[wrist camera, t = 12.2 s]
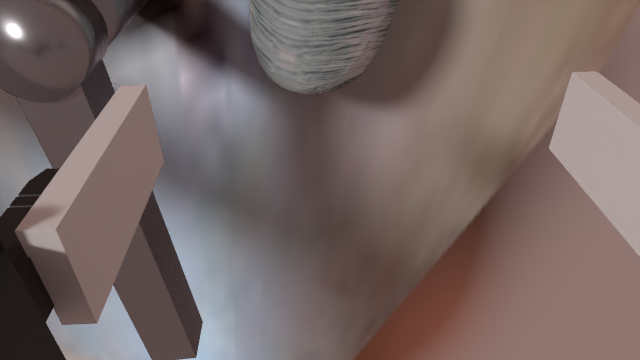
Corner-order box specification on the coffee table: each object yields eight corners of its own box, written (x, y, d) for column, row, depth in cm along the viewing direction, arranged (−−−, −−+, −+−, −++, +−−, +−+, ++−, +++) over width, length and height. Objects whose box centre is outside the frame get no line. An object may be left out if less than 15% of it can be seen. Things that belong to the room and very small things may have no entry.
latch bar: (-8, -15, 22) (-54, 7, 19) (88, -26, 21) (57, -6, 19) (154, 324, 36) (142, 366, 33) (212, 318, 35) (205, 359, 33)
